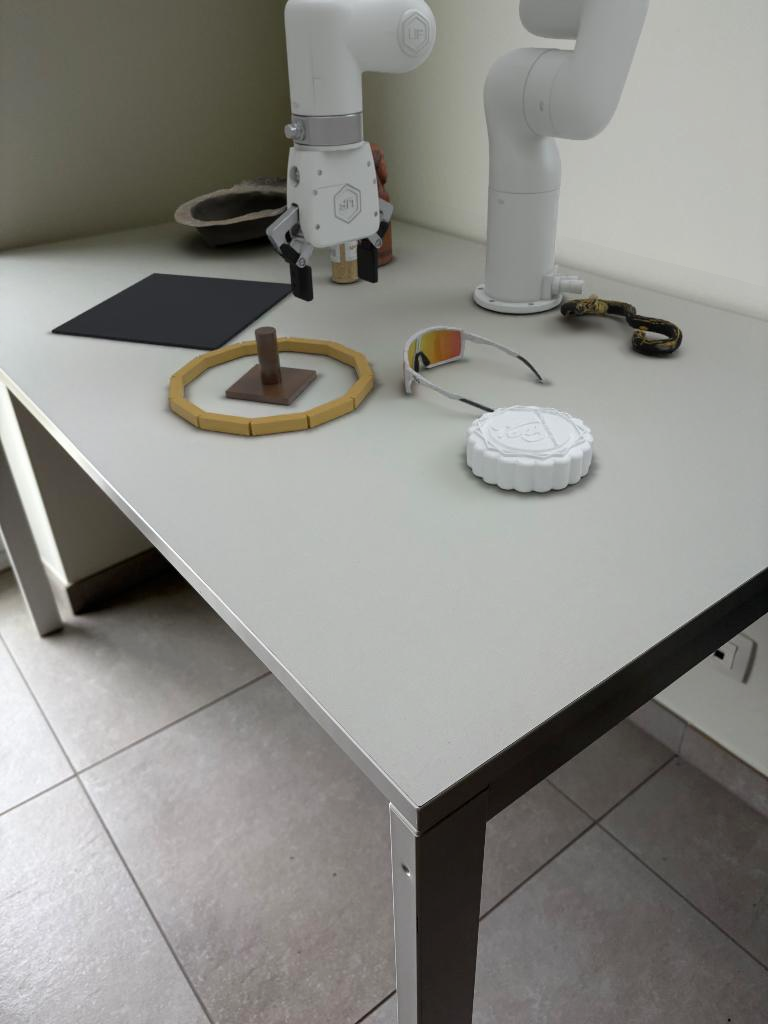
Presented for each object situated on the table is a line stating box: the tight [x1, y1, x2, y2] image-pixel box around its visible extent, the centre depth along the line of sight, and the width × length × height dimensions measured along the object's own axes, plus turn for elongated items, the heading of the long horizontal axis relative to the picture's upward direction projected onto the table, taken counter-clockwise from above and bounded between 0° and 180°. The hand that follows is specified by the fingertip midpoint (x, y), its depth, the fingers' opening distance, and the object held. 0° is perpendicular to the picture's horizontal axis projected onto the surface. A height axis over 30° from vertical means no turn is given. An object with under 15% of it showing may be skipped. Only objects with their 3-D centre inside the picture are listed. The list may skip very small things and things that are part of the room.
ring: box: [168, 336, 375, 437], centre depth 94 cm, size 23×23×1 cm
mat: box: [51, 272, 293, 351], centre depth 118 cm, size 26×26×1 cm
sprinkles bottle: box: [329, 240, 360, 284], centre depth 123 cm, size 5×5×14 cm
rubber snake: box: [560, 293, 684, 356], centre depth 103 cm, size 18×5×10 cm
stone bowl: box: [173, 176, 292, 248], centre depth 145 cm, size 25×25×9 cm
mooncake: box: [465, 404, 595, 493], centre depth 77 cm, size 12×12×4 cm
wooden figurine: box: [357, 141, 393, 267], centre depth 130 cm, size 12×6×18 cm, turn 24°
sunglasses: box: [402, 325, 546, 413], centre depth 92 cm, size 14×15×5 cm
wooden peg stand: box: [225, 326, 317, 406], centre depth 92 cm, size 8×8×7 cm
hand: (336, 289), depth 95 cm, fingers open, 9 cm apart
